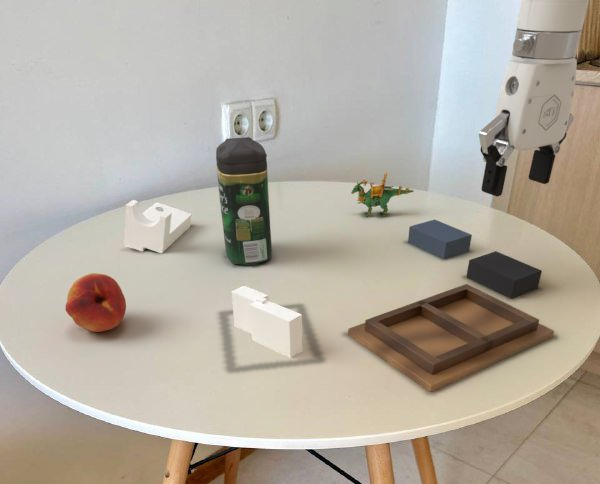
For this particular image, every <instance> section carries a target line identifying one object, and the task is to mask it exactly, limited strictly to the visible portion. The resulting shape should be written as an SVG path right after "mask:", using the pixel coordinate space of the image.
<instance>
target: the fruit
mask: <svg viewBox="0 0 600 484" xmlns="http://www.w3.org/2000/svg"><path fill="white" fill-rule="evenodd" d="M126 310H127V301H126V298H125V295H124V293H123V290H122V288H121V286H120V285H119V284H118V282H117V280H116V279H114V278H113V277H111V276H110V275H107V274H105V273H104V274H103V273H97V272H96V273H94V272H93V273H88V274H84V275H83V276H81V277H80V278H78V279H76V280H75V281H74V282H73V284H72V285H71V287H70V288H69V291H68V293H67V298H66V303H65V312H66V314H67V315H68V316H69V317H70V318H71V319H72V320H73V322H74V323H75V324H76V325H77V326H79V327H80V328H82V329H84V330H87V331H89V332H90V331H91V332H95V333H97V332H99V333H100V332H107V331H110V330H112V329H115V328H117V327H118V326H119V325H120V323H121V322H122V320H123V319H124V317H125V314H126V312H127V311H126Z"/></svg>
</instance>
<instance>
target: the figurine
mask: <svg viewBox="0 0 600 484" xmlns="http://www.w3.org/2000/svg"><path fill="white" fill-rule="evenodd" d="M387 175H388V173H387V172H385V173H384V175H383V176H384V177H383V179H381V184H379V185H375V184H374V181H372V182H369V185H370V189H368V190H367V191H366V192H365V189H364V187H363V186H365V187H366V186H367V184H368V180H366V179H363V180H362V181H360V182H358V181H357V182H356V185H355V186H354V187H353V189H352V190H351V195H354V194H355V193H358V194H357V195H358V197H357V199H356V201H357V204H358V205H359V204H363V205H365V206H366V207H367V208H368V209H367V211H366V212H364V217H365V218H367V217H370V214H371V213H372V212H373V211H372V210H373V207H375V208H376V207H380V209H382V210H383V211H380V212H379V217H380V218H384V217H387V213H388V211H389V208H388V203H389V202H390V200H391V199H392V198H393V197H396V196H398V197H399V196H401V195H408V194H411V193H414V192H415V190H413V189H410V187H405V189H403V186H401V185H399V186H398V188H396V187H394V185H391V186H389V185H386V183H387V182H386V181H387ZM362 185H363V186H362ZM374 185H375V186H374Z"/></svg>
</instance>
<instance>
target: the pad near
mask: <svg viewBox="0 0 600 484" xmlns="http://www.w3.org/2000/svg"><path fill="white" fill-rule="evenodd" d="M542 273H543V270H542V269H539V268H537V267H534V266H532V265H530V264H527V263H525V262H523V261H520V260H519V259H515V258H513V257H512V256H509V255H506V254H503V253H501V252H499V251H497V250H494V251H491V252H489V253H486V254H483V255H480V256H476V257H474V258H470V259H469V260H468V265H467V270H466V278H467V279H469V280H471V281H472V282H475V283H477V284H479V285H481V286H484V287H485V288H488V289H489V290H491V291H493V292H496V293H498V294H500V295H501V296H504V297H506V298H508V299H510V300H512V299H515V298H518V297H519V296H522V295H526V294H527V293H530V292H533V291H535V290H537V289H539V284H540V281H541V276H542Z"/></svg>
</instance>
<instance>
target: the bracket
mask: <svg viewBox="0 0 600 484" xmlns="http://www.w3.org/2000/svg"><path fill="white" fill-rule="evenodd" d="M124 215H125V217H124V234H123V246H124V247H127V248H131V249H133V250H136V251H139V252H141V253H142V252H145V250H146V249H148V250H150V251H154V252H156V253H159V254H163V253H164V252H165V251H166V250H168V249H169V248H170V246H171V245H173V244H174V242H176V241H177V240H178V239H179V238H180V237H181V236H183V234H184V233H185V232H186V231H188V229H189V228H190V227H191V224H192V216H193V214H192V213H191V212H187V211H185V210H182V209H179V208H175V207H173V206H170V205H167V204H164V203H160V202H158V201H156V202H155V203H153V204H152V205H151V206H150V207H148V208H147V209H146V210H144V211H143V212H142V211H141V209H140V206H139V201H138V200H136V199H132V200H130V201H129V202H128V203H126V204H125V214H124Z"/></svg>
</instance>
